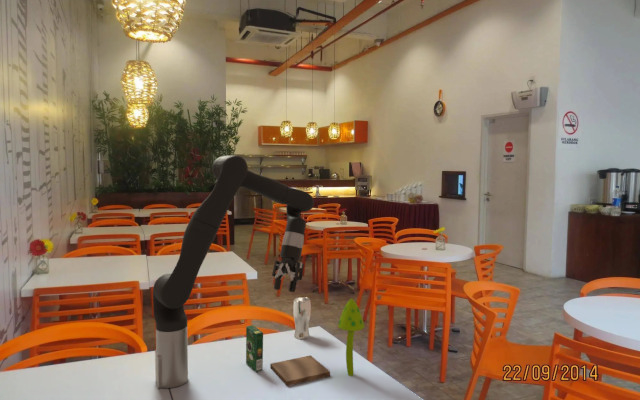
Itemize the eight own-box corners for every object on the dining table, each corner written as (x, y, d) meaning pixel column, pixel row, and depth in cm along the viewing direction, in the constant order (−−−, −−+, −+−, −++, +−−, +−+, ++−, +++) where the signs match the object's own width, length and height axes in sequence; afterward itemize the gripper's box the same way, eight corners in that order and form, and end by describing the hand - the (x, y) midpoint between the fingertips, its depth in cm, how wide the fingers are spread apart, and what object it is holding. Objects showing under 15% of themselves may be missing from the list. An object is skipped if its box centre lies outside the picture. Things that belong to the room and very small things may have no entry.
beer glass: (310, 339, 170) (310, 302, 169) (292, 339, 170) (292, 301, 169) (310, 333, 177) (311, 297, 176) (293, 333, 177) (294, 296, 176)
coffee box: (263, 370, 143) (263, 331, 142) (255, 373, 141) (255, 333, 140) (253, 361, 149) (253, 324, 149) (245, 363, 148) (245, 326, 147)
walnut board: (287, 386, 132) (287, 381, 132) (270, 368, 145) (270, 363, 145) (330, 376, 139) (330, 371, 139) (310, 359, 152) (310, 355, 152)
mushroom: (342, 382, 135) (343, 303, 134) (334, 370, 144) (335, 295, 142) (367, 378, 138) (368, 301, 136) (358, 367, 146) (359, 294, 144)
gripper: (272, 243, 161) (263, 287, 157) (297, 244, 151) (288, 291, 147) (287, 247, 166) (279, 290, 162) (312, 248, 155) (304, 294, 152)
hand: (283, 290), depth 155 cm, fingers open, 8 cm apart
